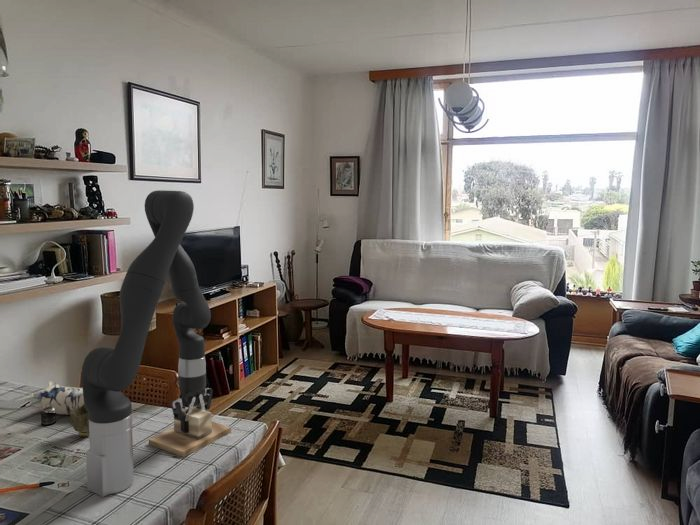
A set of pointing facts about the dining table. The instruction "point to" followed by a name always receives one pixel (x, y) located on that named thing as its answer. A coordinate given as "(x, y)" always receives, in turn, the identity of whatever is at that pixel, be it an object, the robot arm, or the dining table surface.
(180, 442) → the oak board
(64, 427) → the dining table surface
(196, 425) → the block
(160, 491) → the dining table surface
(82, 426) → the cup
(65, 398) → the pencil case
